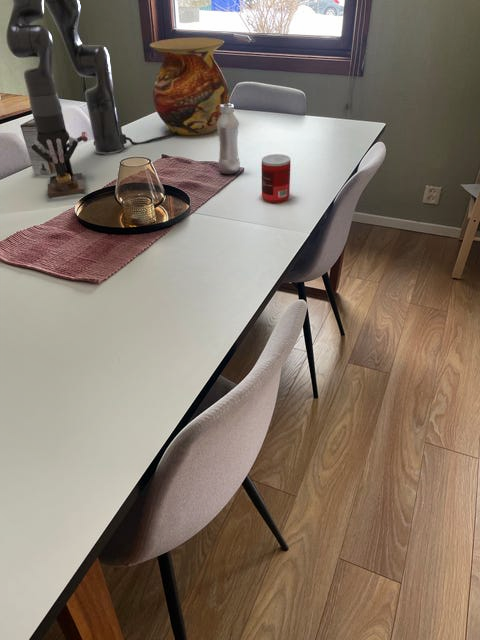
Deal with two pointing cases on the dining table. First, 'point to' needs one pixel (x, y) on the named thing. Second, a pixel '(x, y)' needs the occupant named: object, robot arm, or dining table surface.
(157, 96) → the vase
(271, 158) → the canned food
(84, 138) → the lever
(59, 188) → the switch plate
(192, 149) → the dining table surface
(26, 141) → the coffee box
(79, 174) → the lever bracket
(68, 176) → the button
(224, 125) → the plastic bottle
